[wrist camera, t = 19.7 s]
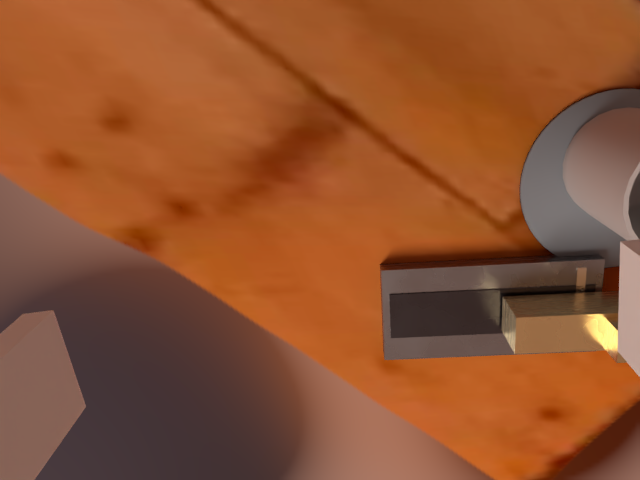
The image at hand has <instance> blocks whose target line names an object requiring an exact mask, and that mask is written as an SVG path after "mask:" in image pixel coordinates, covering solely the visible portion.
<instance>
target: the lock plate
mask: <svg viewBox="0 0 640 480" xmlns="http://www.w3.org/2000/svg"><path fill="white" fill-rule="evenodd" d="M604 266H605V259H604V258H603V257H602V256H601V255H581V256H562V257H557V256H556V255H550V256H531V257H512V258H493V259H473V260H454V261H435V262H416V263H396V264H380V276H381V301H382V326H383V351H384V359H385V360H395V359H419V358H443V357H467V356H491V355H515V354H514V352H513V350H512V348H511V347H510V345H509V343H508V341H507V339H506V338H505V336H504V334H503V332H502V304H503V297H504V296H525V295H545V294H566V293H587V292H602V286H603V276H604ZM574 352H586V351H574ZM551 353H563V352H551ZM527 354H539V353H527Z"/></svg>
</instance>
